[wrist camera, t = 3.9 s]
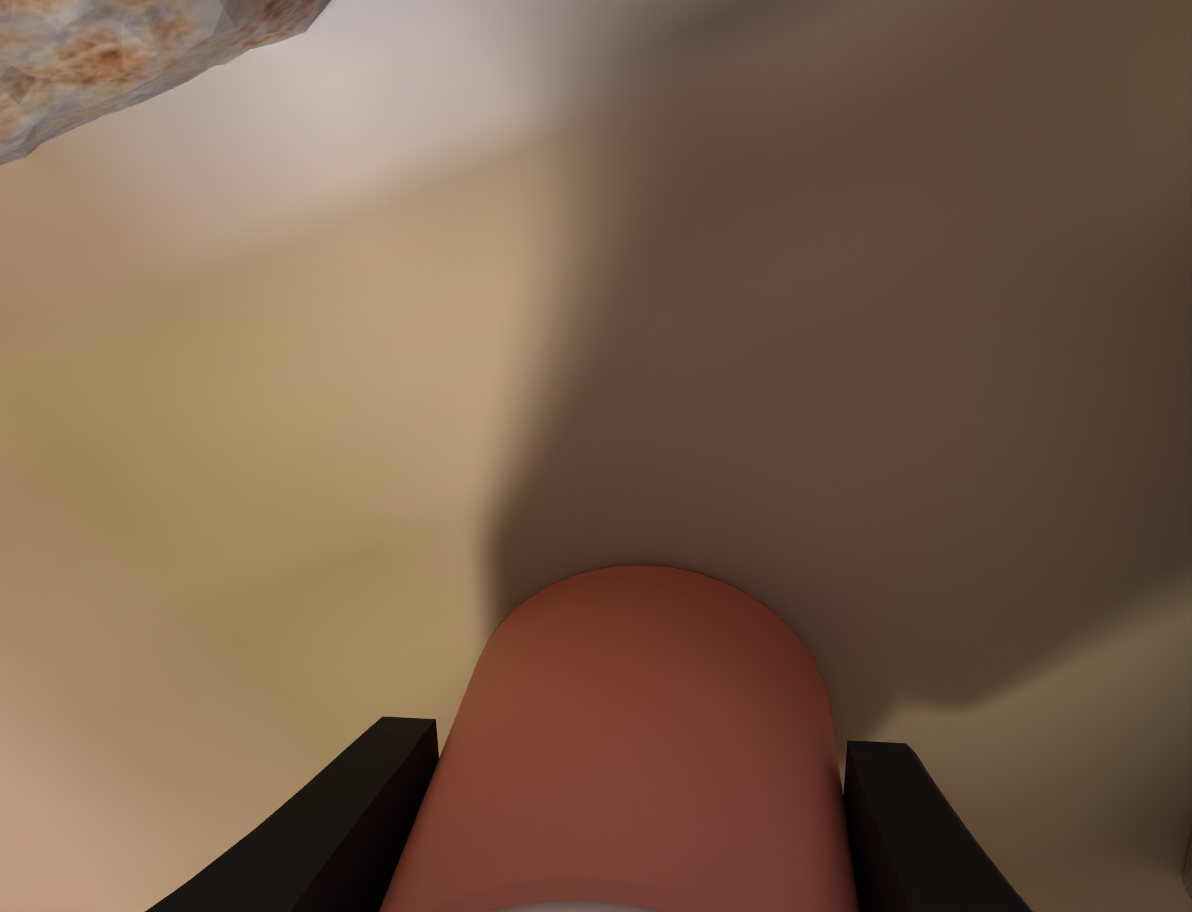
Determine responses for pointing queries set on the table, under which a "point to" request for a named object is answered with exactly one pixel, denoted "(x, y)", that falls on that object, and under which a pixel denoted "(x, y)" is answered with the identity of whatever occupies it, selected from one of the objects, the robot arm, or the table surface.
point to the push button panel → (1188, 870)
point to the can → (635, 761)
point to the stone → (119, 55)
